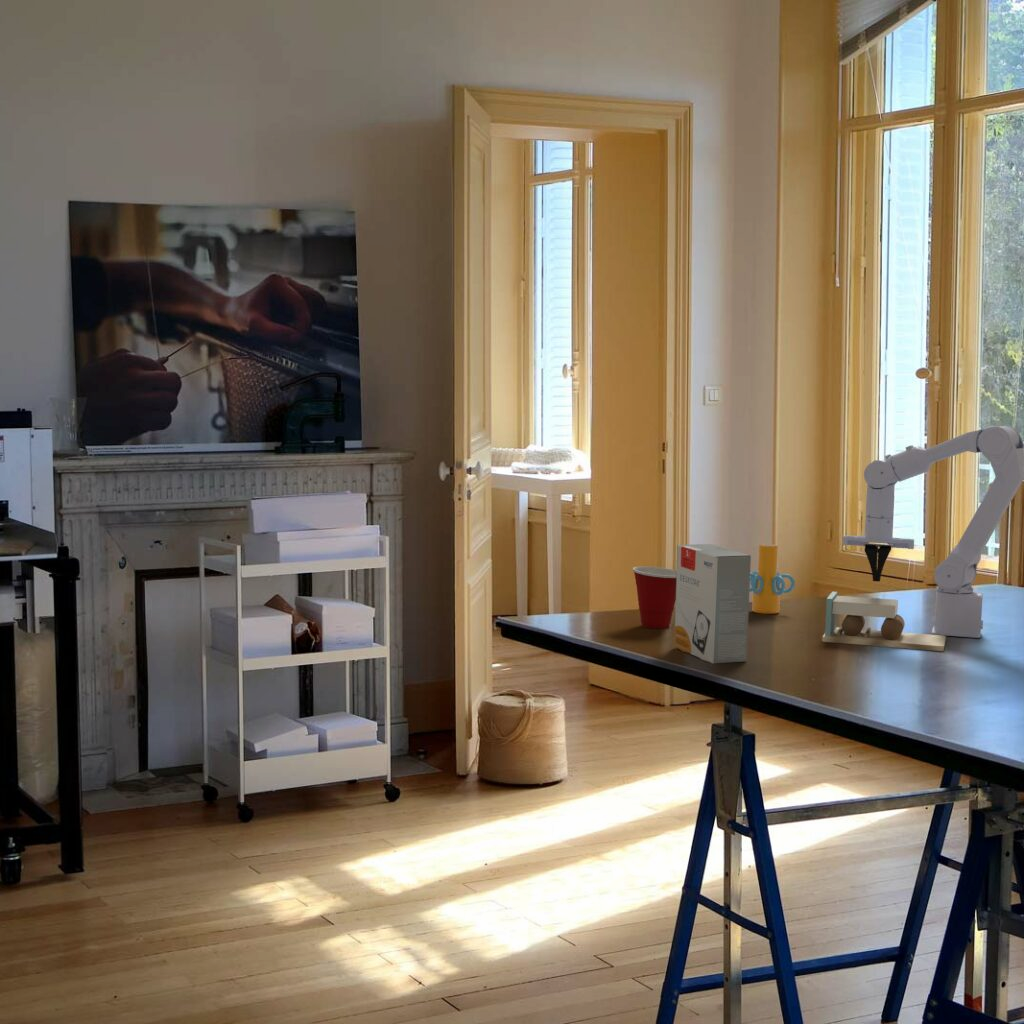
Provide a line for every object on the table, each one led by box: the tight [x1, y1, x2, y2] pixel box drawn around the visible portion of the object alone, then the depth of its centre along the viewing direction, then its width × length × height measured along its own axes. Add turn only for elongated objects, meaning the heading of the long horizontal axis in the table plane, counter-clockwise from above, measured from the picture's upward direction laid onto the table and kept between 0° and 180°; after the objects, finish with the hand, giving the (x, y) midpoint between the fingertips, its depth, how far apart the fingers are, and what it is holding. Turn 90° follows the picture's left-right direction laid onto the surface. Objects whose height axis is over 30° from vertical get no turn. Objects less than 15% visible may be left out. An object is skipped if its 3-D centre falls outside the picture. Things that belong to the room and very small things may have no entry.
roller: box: [841, 615, 866, 636], centre depth 284 cm, size 4×6×4 cm
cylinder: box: [749, 543, 796, 615], centre depth 314 cm, size 12×10×15 cm
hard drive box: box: [673, 543, 752, 664], centre depth 264 cm, size 16×8×20 cm, turn 21°
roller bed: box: [821, 591, 947, 652], centre depth 282 cm, size 23×12×8 cm, turn 71°
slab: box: [832, 595, 899, 619], centre depth 283 cm, size 12×8×2 cm, turn 71°
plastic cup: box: [632, 565, 677, 629], centre depth 293 cm, size 11×11×12 cm
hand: (876, 580), depth 301 cm, fingers closed
